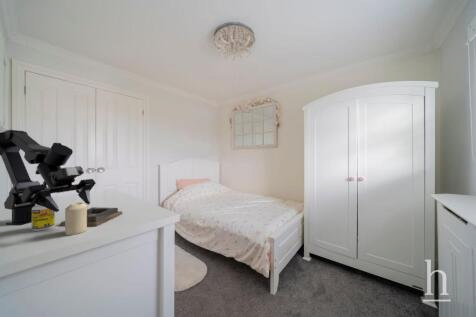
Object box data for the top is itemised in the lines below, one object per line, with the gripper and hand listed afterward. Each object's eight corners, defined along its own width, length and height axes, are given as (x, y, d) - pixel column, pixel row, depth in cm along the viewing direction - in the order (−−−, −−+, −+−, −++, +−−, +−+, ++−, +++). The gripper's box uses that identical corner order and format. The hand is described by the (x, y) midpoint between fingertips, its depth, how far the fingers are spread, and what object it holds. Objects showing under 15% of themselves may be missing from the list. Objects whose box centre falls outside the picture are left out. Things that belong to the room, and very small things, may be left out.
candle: (73, 236, 57) (73, 206, 57) (60, 234, 59) (60, 204, 59) (90, 229, 63) (90, 201, 63) (78, 228, 64) (78, 200, 64)
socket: (60, 225, 66) (60, 217, 66) (92, 213, 80) (92, 206, 80) (96, 226, 66) (96, 217, 66) (122, 214, 80) (122, 207, 80)
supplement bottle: (27, 232, 60) (27, 203, 60) (37, 226, 65) (37, 199, 65) (49, 230, 62) (49, 201, 62) (57, 224, 67) (57, 198, 67)
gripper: (26, 159, 53) (50, 198, 50) (92, 159, 71) (112, 187, 68) (11, 184, 56) (33, 222, 53) (78, 177, 74) (98, 205, 70)
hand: (74, 207), depth 61 cm, fingers open, 9 cm apart
